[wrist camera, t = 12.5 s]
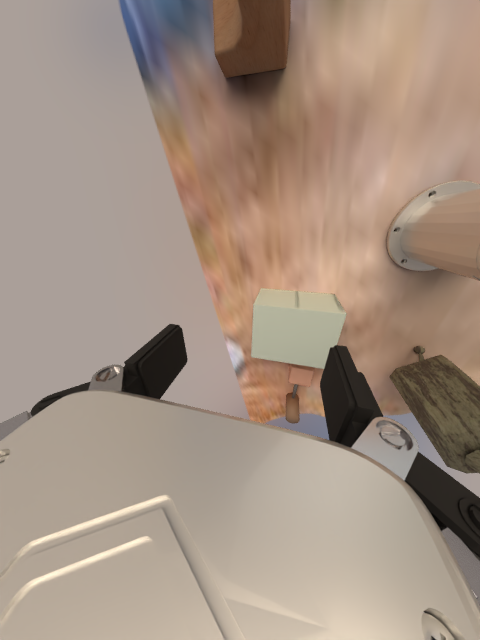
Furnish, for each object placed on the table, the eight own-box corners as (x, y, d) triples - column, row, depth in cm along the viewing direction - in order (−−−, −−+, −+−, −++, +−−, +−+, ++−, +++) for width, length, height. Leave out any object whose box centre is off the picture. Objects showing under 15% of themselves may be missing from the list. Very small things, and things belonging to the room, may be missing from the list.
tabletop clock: (449, 384, 41) (625, 565, 19) (402, 395, 45) (503, 554, 23) (423, 337, 37) (601, 491, 16) (375, 354, 42) (464, 495, 20)
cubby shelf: (334, 294, 38) (346, 314, 29) (321, 342, 43) (329, 369, 35) (261, 288, 41) (253, 304, 33) (258, 333, 46) (251, 357, 38)
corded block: (311, 357, 46) (315, 377, 40) (300, 402, 54) (301, 425, 48) (291, 354, 47) (291, 373, 41) (282, 399, 55) (281, 420, 49)
